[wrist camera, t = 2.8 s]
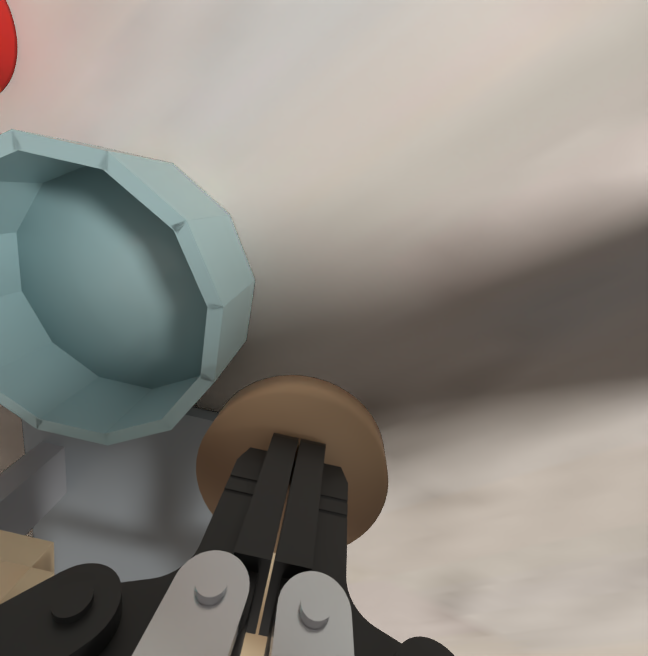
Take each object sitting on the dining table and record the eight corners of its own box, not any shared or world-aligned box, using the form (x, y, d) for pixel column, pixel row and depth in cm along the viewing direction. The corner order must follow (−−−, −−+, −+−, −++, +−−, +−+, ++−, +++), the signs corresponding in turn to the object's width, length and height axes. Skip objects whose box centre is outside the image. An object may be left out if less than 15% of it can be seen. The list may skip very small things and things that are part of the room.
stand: (29, 369, 21) (-260, 522, 11) (369, 447, 21) (382, 671, 11) (47, 570, 27) (-131, 786, 17) (311, 631, 27) (286, 883, 17)
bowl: (269, 185, 16) (238, 180, 12) (236, 411, 21) (204, 467, 16) (6, 124, 16) (-120, 99, 12) (27, 363, 21) (-60, 407, 16)
